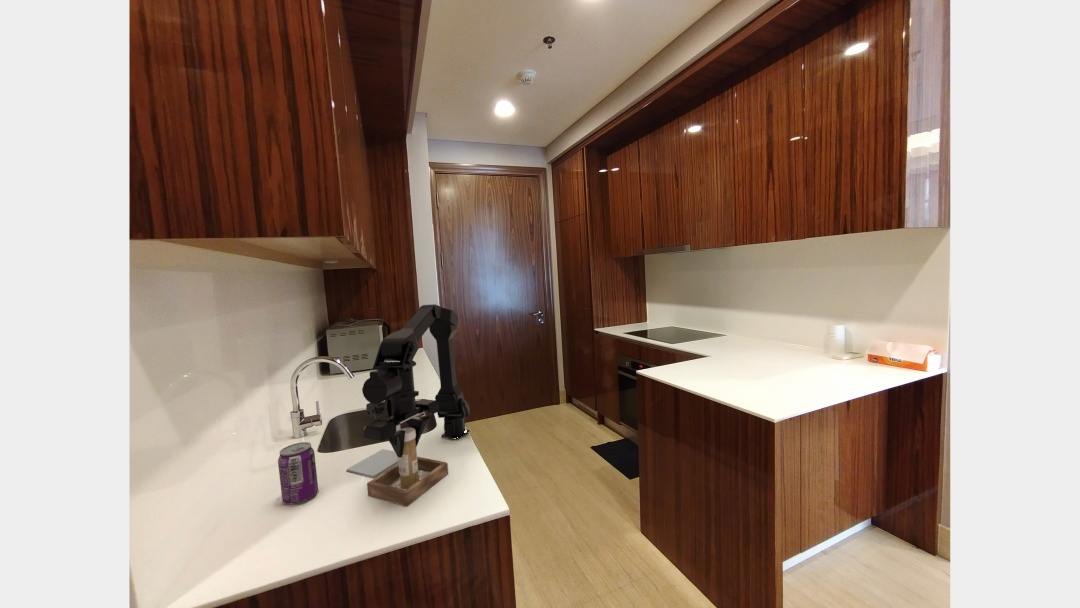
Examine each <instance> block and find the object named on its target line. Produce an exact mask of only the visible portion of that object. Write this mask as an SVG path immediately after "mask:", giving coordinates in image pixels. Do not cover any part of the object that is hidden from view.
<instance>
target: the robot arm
mask: <svg viewBox="0 0 1080 608" xmlns="http://www.w3.org/2000/svg"><path fill="white" fill-rule="evenodd" d="M458 323H459V317H458V314H457V313H456V312H455V311H454V310H452V309H449V308H445V307H441V306H440V305H439V304H436V303H435V304H434V303H433V304H423V305H420V307H419V308H418V310H417V312H416V313H415V314H414V315H413V316H412V317H411V319H410V320H408V322H407V323H406V324H405V325H403V327H402V328H401V329H400V330H397V331H394V332H391V333H390V334H388V335H387V336H385V337H384V338H383V339H382V340H381V342H380V345H379V347H378V350H377V352H376V353H377V354H376V357H375V359H374V364H373V366H372V371H369V378H367V379H365V380H364V382H363V386H362V388H361V391H362V395H363V397H364V399H365V400H366V401H367V402H369V403H366V405H365V407H366V409H365V411H366V414H367V417H369V418H371V417H374V419H376V420H374V421H372V422H369V423H367V424H366V425H365V426H364V428H363V438H364V439H368V440H373V441H379V442H383V441H386V440H388V442H389V444H390V445H391V447H392V449H393V451H395V453H396V455H397V457H400V458H401V457H402V454H403V448H404V438H405V431H403V430H401V429H402V427H401V424H403V423H405V422H406V424H407V425H408V428H414V429H415V432H416V438H415V443H416V448H417V446H418V444H419V442H420V439H421V437H422V434H423V432H424V430H425V427H426V425H427V424H428V422H429V421H430V419H431V417H430V416H428V415H427V416H426V413H425V412H427V413H428V414H429V415H434V414H437V417H438V419H440V418H441V419H442V418H443V430H444V432H443V433H442V434H441V438H444V437H448V438H447V439H450V438H456V439H458V438H460V437H461V436H462V437H464V436H465V435H466V434H465V433H464V431H465V429H466V430H467V432H468V433H469V432H470V431H471V430H470V429H467V428H466V418H467V417H469V416H470V405H469V404H468V402H467V400H466V399H465V395H464V392H463V389H462V388H461V387H460V386H459V384H458V382H457V372H456V371H457V370H456V361H455V360H456V359H455V349H454V336H455V335H456V333H457V330H458V325H459V324H458ZM428 329H429V333H430V334H431V336H432V337H433V338H434V340H435V343H436V351H437V360H438V361H437V362H438V371H439V373H438V374H439V381H440V383H439V384H440V388H439V391H437V394H435V396H434V399H435V400H434V399H425V398H422V399H419V400H418V401H416V397H418V396H419V395H420V393H419V390H415V389H416V388H415V382H414V380H415V379H414V371H413V370H414V369H413V368H414V367H415V366H417V362H416V361H415V360H414V357H415V356H416V354H417V352H418V351H419V349H420V347H419V344H418V343H419V341H420V340H421V338H422V337H423V336H424V334H425V333H426V332H427V330H428ZM381 416H384V418H390V419H389V420H386V419H379V417H381ZM464 427H465V428H464ZM463 435H464V436H463ZM457 437H458V438H457ZM462 437H461V438H462ZM461 438H460V439H461ZM456 439H455V440H456ZM458 440H459V439H458Z"/></svg>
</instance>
